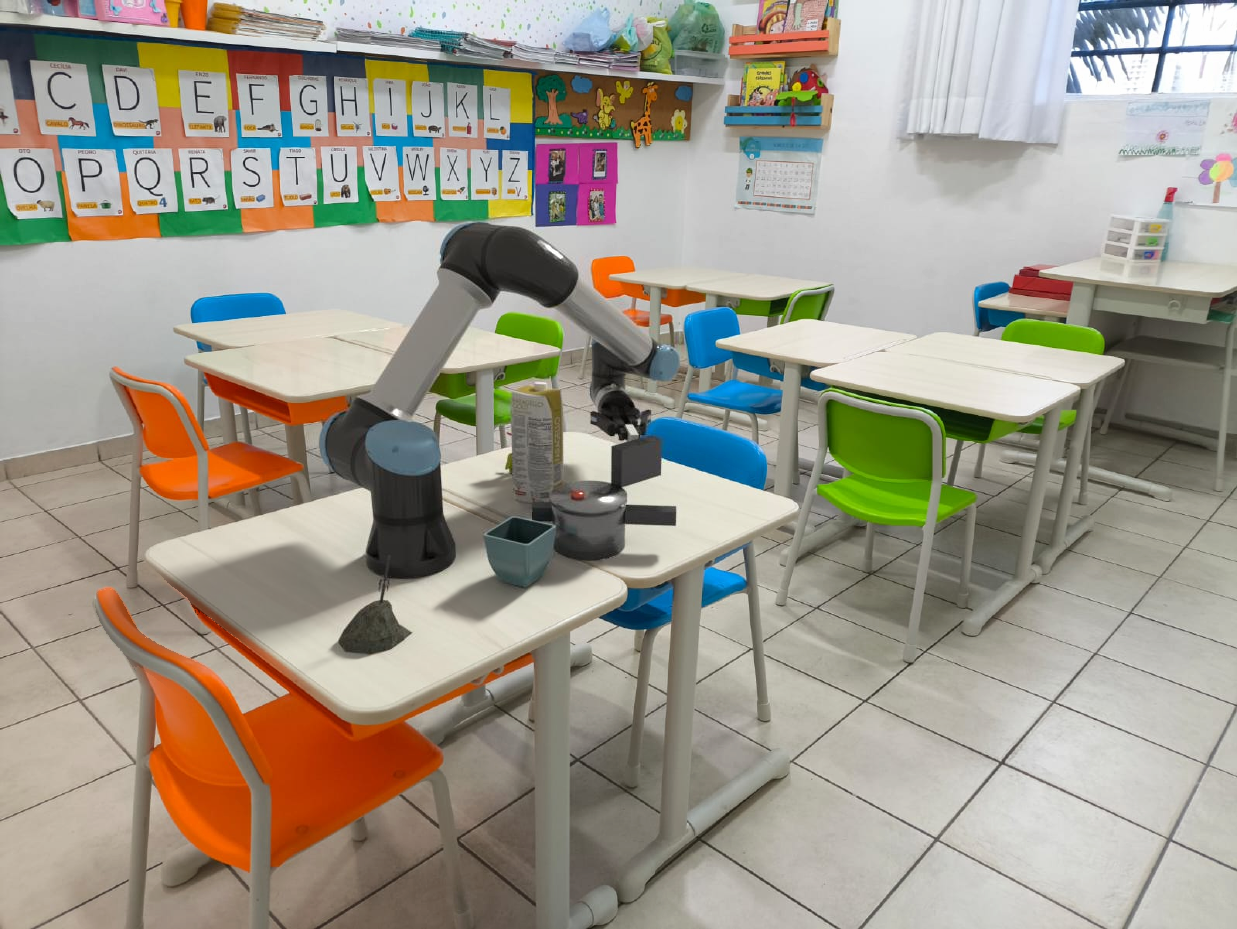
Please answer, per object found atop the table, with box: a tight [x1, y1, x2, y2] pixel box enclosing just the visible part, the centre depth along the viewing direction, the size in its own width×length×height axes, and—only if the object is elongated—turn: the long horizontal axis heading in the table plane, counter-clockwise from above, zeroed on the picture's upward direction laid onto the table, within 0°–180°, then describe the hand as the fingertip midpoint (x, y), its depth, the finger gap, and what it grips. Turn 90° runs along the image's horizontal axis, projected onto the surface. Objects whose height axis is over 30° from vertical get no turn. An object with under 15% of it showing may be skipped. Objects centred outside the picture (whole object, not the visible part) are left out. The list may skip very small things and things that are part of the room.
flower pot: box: [482, 515, 556, 588], centre depth 143 cm, size 9×9×9 cm
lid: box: [550, 434, 663, 515], centre depth 156 cm, size 23×14×8 cm, turn 132°
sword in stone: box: [338, 556, 413, 655], centre depth 125 cm, size 10×8×12 cm
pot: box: [531, 502, 677, 562], centre depth 156 cm, size 26×13×8 cm, turn 87°
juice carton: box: [510, 381, 565, 505], centre depth 173 cm, size 9×8×24 cm
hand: (634, 441), depth 164 cm, fingers closed
